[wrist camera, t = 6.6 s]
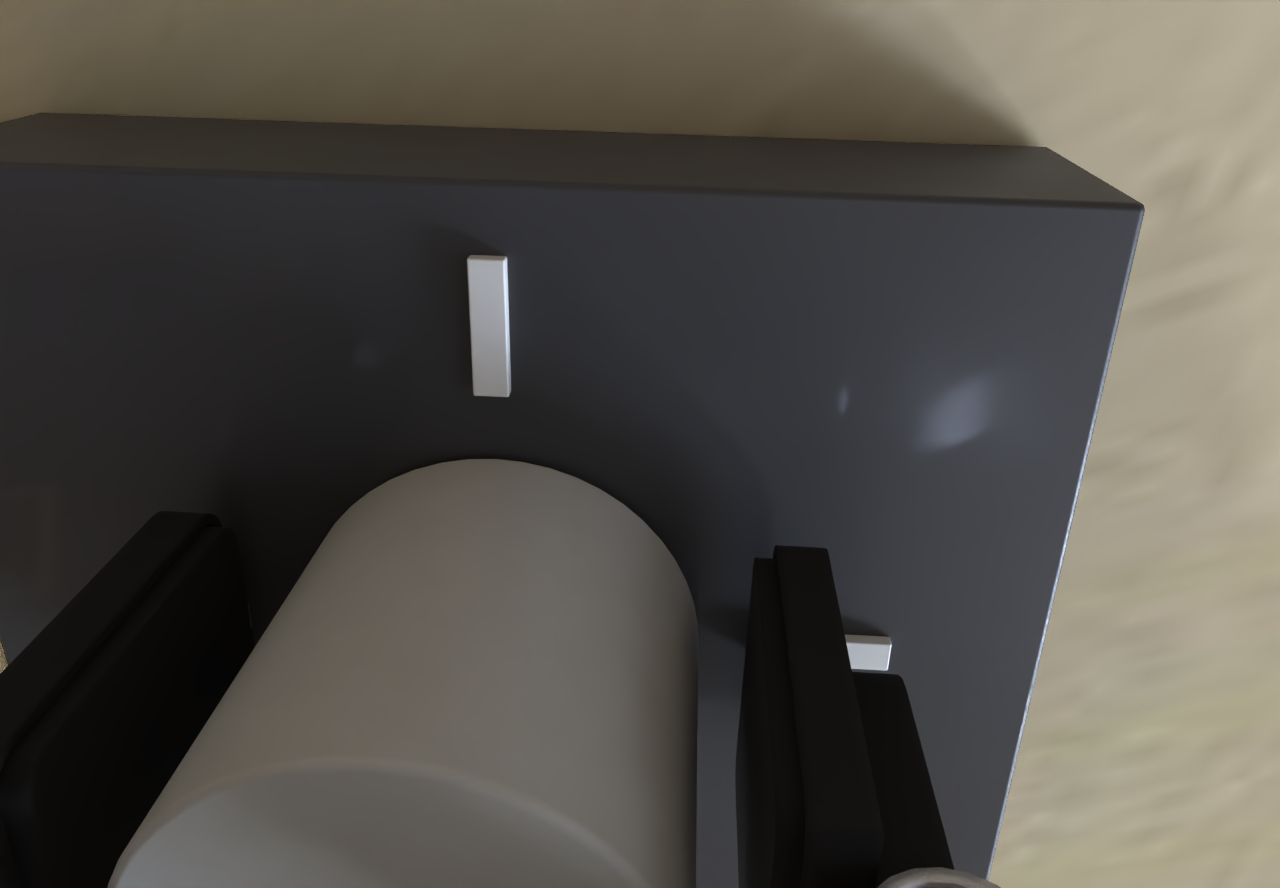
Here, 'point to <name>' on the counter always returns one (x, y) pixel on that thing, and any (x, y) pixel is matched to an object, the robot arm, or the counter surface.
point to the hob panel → (580, 374)
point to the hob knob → (452, 705)
